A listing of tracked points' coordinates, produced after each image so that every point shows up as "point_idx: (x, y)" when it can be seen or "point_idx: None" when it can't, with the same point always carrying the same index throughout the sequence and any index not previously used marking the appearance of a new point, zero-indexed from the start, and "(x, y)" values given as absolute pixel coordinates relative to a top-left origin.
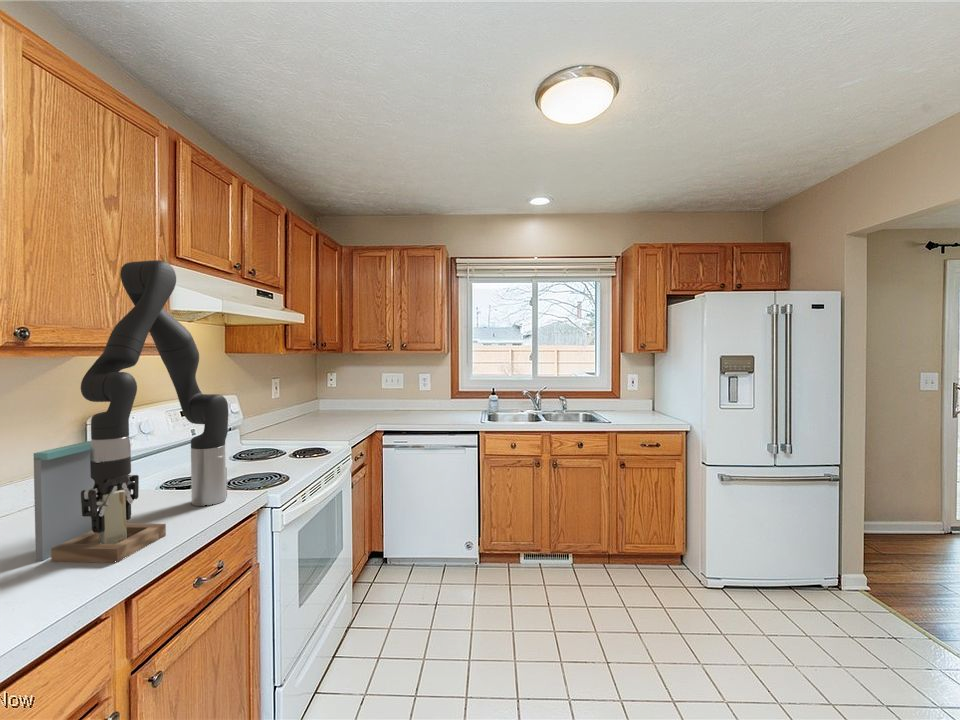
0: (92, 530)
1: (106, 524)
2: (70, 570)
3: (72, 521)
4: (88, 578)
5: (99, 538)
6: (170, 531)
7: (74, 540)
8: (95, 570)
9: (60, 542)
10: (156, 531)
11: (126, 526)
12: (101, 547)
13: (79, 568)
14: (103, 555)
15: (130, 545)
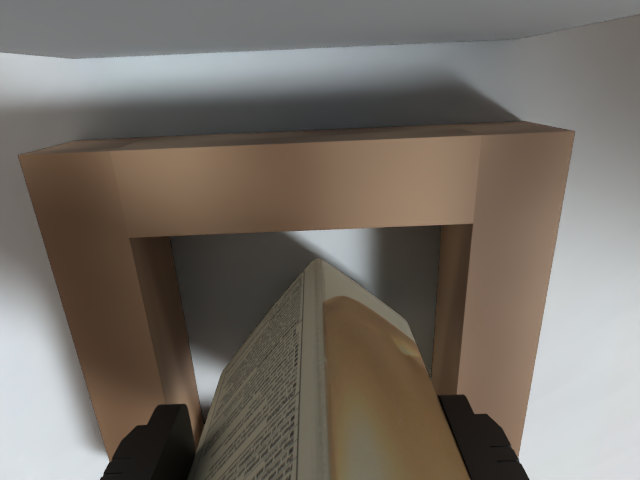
0: (131, 431)
1: None
2: (33, 341)
3: (300, 24)
4: (5, 469)
5: (306, 275)
6: (542, 439)
7: (186, 192)
8: (70, 441)
9: (185, 48)
10: None
11: (478, 338)
12: None
13: (63, 363)
14: None
15: None
